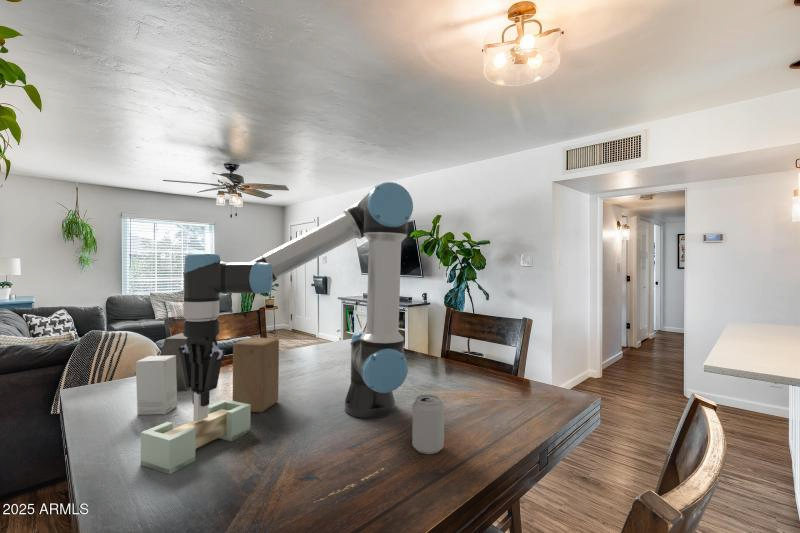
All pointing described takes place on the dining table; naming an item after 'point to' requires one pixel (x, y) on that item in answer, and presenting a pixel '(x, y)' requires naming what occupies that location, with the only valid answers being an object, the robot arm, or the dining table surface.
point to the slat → (206, 427)
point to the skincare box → (156, 385)
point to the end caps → (188, 438)
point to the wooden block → (256, 372)
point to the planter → (171, 349)
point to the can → (428, 424)
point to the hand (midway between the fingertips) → (200, 418)
